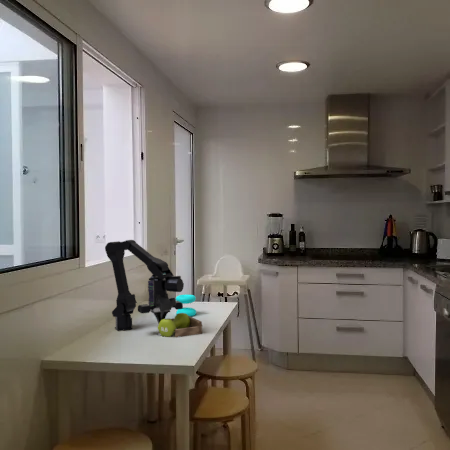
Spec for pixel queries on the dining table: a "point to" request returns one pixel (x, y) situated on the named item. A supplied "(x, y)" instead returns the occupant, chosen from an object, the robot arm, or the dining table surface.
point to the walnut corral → (190, 328)
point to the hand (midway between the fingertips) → (160, 326)
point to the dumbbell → (173, 324)
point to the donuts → (185, 300)
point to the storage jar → (150, 292)
